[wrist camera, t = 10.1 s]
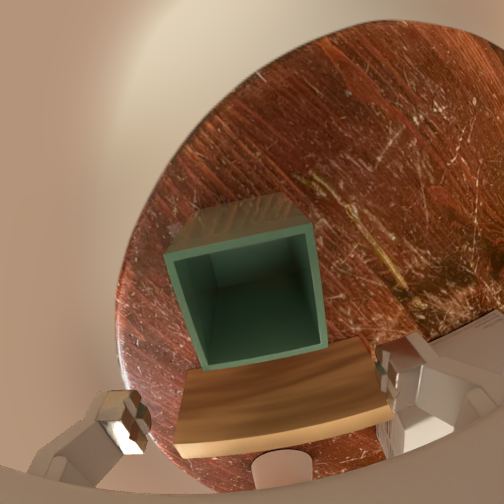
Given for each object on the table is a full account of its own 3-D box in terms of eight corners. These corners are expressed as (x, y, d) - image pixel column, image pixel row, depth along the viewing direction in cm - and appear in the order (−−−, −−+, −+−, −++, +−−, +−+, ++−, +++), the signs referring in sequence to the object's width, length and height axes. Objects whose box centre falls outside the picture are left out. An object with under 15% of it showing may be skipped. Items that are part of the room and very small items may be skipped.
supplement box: (496, 305, 27) (546, 346, 18) (483, 383, 31) (517, 425, 22) (368, 364, 28) (404, 432, 19) (375, 435, 32) (398, 491, 23)
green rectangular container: (209, 240, 27) (161, 144, 17) (284, 224, 27) (276, 117, 16) (229, 378, 22) (171, 361, 11) (318, 361, 22) (342, 329, 11)
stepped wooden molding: (187, 369, 27) (173, 444, 19) (358, 335, 27) (396, 402, 18) (206, 411, 29) (199, 482, 21) (359, 381, 29) (388, 446, 20)
